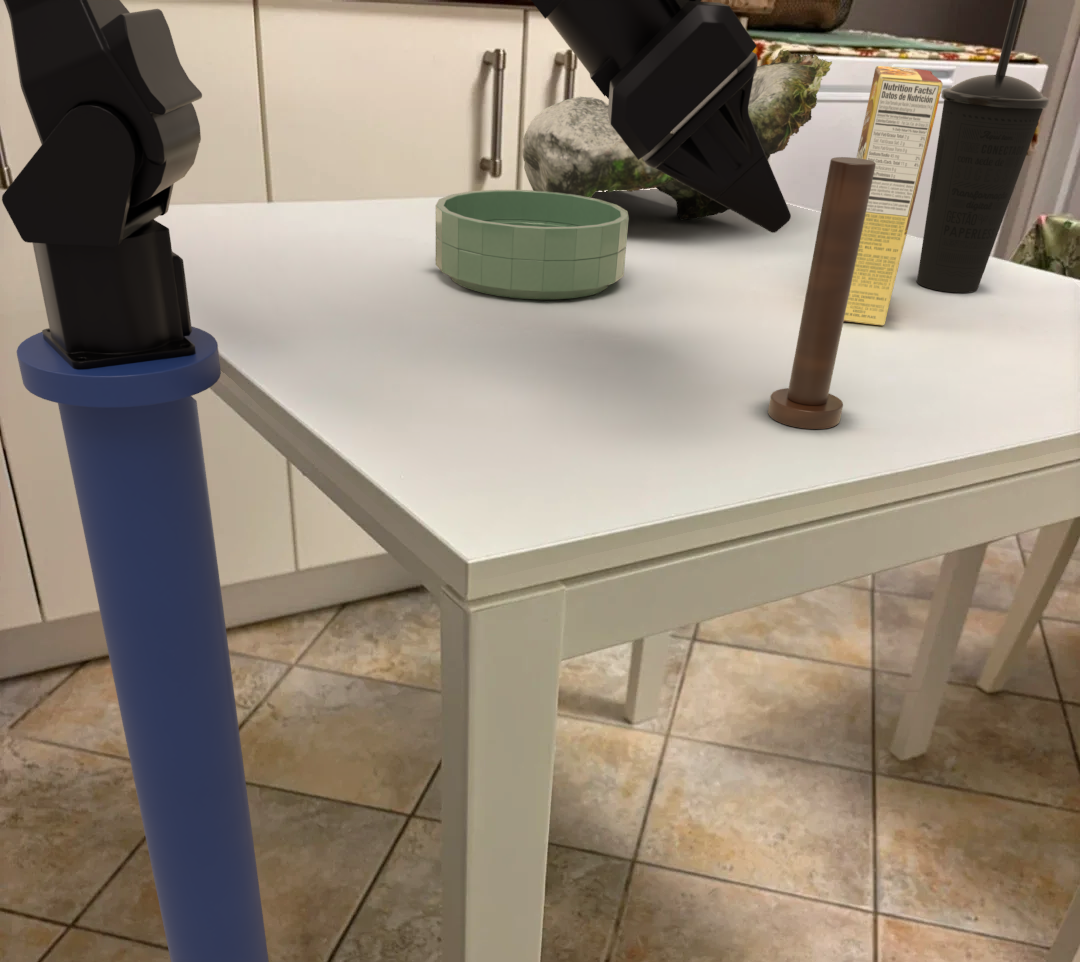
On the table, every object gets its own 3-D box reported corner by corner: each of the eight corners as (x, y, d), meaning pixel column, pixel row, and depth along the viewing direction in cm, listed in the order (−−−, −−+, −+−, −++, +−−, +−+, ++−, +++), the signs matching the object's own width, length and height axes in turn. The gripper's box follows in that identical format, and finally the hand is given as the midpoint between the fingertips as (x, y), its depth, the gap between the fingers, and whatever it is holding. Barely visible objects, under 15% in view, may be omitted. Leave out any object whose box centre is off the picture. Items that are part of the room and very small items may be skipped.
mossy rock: (910, 147, 101) (885, -36, 92) (667, 314, 95) (613, 136, 86) (708, 139, 123) (671, -10, 114) (499, 274, 117) (441, 129, 107)
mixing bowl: (502, 312, 76) (504, 235, 74) (402, 265, 86) (401, 195, 83) (659, 291, 83) (667, 220, 80) (552, 250, 93) (555, 185, 90)
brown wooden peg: (804, 434, 60) (856, 169, 52) (753, 410, 62) (795, 155, 55) (854, 422, 62) (911, 165, 54) (803, 400, 64) (850, 152, 57)
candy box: (827, 291, 86) (871, 64, 77) (882, 297, 85) (933, 68, 77) (828, 321, 79) (877, 74, 70) (889, 327, 78) (946, 79, 69)
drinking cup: (963, 302, 85) (1045, -6, 74) (880, 280, 90) (945, -14, 78) (1014, 290, 90) (1098, -4, 78) (932, 269, 94) (1000, -11, 83)
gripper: (735, -270, 39) (964, 107, 45) (686, -208, 54) (862, 66, 60) (504, -13, 43) (743, 297, 49) (519, -23, 58) (700, 214, 65)
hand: (767, 206), depth 56 cm, fingers open, 9 cm apart
